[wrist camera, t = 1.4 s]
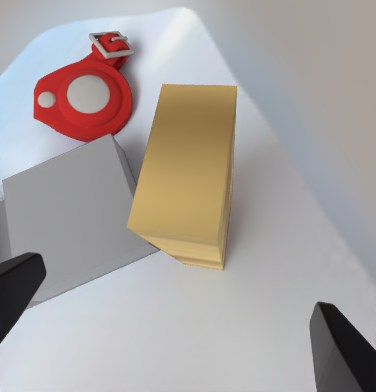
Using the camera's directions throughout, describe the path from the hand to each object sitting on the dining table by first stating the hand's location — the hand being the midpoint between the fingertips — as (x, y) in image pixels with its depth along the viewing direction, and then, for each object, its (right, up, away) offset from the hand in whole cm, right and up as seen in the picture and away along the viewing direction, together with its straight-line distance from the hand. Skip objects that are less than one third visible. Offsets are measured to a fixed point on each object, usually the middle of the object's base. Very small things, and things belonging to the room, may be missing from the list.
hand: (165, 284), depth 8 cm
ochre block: (+2, 0, +12) cm, 12 cm away
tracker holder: (-8, +13, +19) cm, 25 cm away
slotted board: (-14, -2, +14) cm, 20 cm away
